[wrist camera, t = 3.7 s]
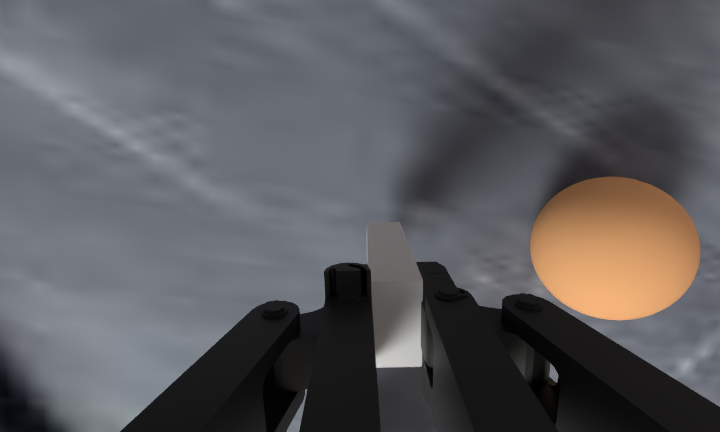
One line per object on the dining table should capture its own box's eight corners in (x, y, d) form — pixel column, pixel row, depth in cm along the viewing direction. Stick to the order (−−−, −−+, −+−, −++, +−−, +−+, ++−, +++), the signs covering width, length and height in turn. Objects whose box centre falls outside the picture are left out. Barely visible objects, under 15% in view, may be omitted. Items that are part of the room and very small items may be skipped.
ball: (514, 170, 19) (583, 192, 13) (639, 166, 19) (765, 188, 13) (506, 284, 20) (564, 352, 14) (621, 282, 20) (727, 348, 14)
